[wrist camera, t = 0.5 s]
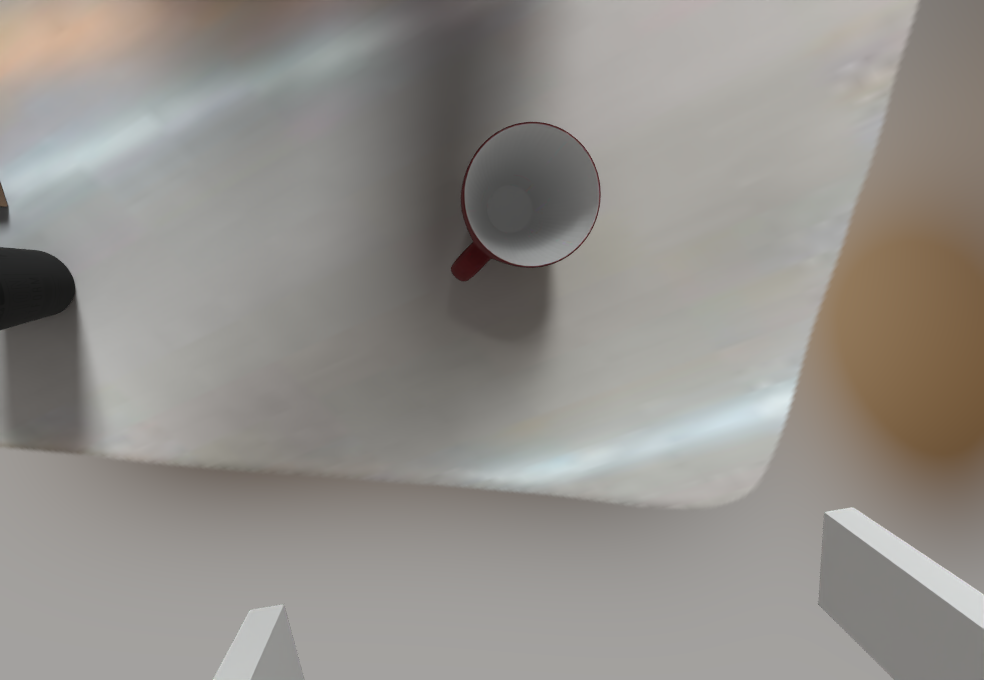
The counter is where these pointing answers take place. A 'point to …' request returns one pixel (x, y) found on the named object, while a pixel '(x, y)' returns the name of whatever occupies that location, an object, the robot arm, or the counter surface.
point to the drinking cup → (32, 286)
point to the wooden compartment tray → (2, 198)
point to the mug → (527, 198)
